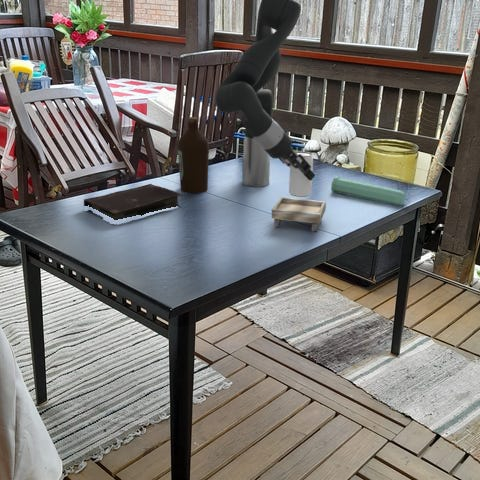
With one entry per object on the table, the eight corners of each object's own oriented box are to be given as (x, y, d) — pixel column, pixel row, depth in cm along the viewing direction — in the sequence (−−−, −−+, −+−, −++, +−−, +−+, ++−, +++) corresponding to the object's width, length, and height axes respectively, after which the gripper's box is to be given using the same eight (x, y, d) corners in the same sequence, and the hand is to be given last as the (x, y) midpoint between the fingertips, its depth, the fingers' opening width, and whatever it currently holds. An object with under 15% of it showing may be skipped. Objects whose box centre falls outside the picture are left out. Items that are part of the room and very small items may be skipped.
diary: (84, 213, 186) (82, 197, 184) (149, 196, 202) (149, 182, 200) (116, 228, 173) (115, 212, 171) (184, 209, 189) (183, 194, 187)
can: (311, 197, 170) (314, 156, 166) (289, 196, 170) (291, 156, 166) (309, 190, 176) (312, 151, 172) (288, 190, 176) (290, 150, 172)
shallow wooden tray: (271, 227, 174) (271, 209, 171) (279, 214, 184) (280, 197, 182) (318, 233, 170) (320, 214, 168) (324, 219, 181) (325, 201, 179)
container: (407, 186, 193) (337, 172, 206) (401, 197, 190) (330, 182, 202) (407, 200, 197) (339, 186, 210) (401, 211, 194) (331, 196, 206)
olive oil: (208, 184, 212) (208, 114, 202) (209, 194, 202) (209, 120, 193) (179, 185, 211) (177, 114, 202) (178, 194, 201) (176, 120, 192)
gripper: (294, 132, 157) (328, 171, 166) (268, 122, 169) (300, 159, 178) (276, 154, 157) (311, 191, 166) (251, 142, 169) (284, 178, 178)
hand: (305, 174), depth 172 cm, fingers closed on can, 6 cm apart
